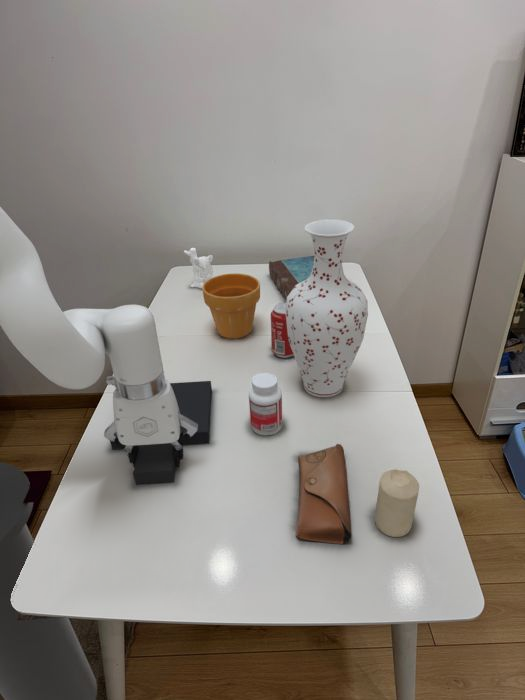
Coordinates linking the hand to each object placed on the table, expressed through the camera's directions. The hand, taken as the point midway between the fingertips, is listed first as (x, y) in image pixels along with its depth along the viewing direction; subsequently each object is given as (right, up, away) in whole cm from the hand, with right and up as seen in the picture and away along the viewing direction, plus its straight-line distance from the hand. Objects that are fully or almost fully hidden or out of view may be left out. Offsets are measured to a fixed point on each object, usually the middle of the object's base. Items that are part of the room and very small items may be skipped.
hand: (157, 462), depth 86 cm
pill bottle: (+19, +5, +8) cm, 22 cm away
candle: (+39, -7, -12) cm, 41 cm away
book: (+32, +39, +61) cm, 79 cm away
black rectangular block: (0, 0, +2) cm, 2 cm away
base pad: (-1, +6, +11) cm, 13 cm away
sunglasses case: (+28, -4, -7) cm, 29 cm away
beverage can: (+24, +19, +30) cm, 43 cm away
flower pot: (+11, +25, +40) cm, 49 cm away
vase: (+32, +12, +19) cm, 39 cm away
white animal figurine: (0, +40, +64) cm, 76 cm away
